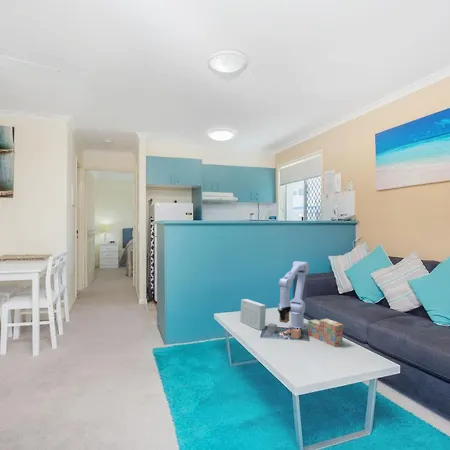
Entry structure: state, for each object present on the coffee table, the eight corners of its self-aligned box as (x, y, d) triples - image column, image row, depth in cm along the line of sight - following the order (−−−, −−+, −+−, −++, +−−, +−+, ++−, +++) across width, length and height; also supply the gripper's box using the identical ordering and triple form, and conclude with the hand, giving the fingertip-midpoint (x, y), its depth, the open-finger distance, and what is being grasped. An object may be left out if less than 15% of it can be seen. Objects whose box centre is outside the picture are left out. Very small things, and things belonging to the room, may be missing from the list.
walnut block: (282, 319, 202) (282, 311, 202) (289, 321, 200) (289, 312, 200) (279, 321, 198) (279, 312, 198) (286, 323, 196) (286, 314, 196)
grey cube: (270, 330, 206) (270, 323, 206) (276, 331, 204) (276, 324, 204) (267, 332, 202) (267, 325, 202) (273, 333, 200) (273, 326, 200)
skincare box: (265, 329, 208) (266, 304, 208) (259, 330, 205) (260, 306, 205) (246, 320, 225) (246, 298, 225) (239, 321, 222) (240, 299, 222)
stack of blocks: (307, 335, 198) (308, 315, 198) (315, 333, 201) (315, 314, 201) (335, 347, 179) (335, 325, 179) (342, 345, 182) (343, 324, 182)
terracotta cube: (293, 335, 197) (293, 328, 197) (300, 336, 195) (300, 329, 195) (291, 337, 194) (291, 330, 194) (298, 339, 191) (298, 331, 191)
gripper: (283, 294, 207) (283, 315, 207) (273, 298, 195) (273, 320, 195) (293, 296, 203) (293, 317, 203) (284, 300, 191) (284, 322, 191)
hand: (284, 319), depth 199 cm, fingers closed on walnut block, 4 cm apart
